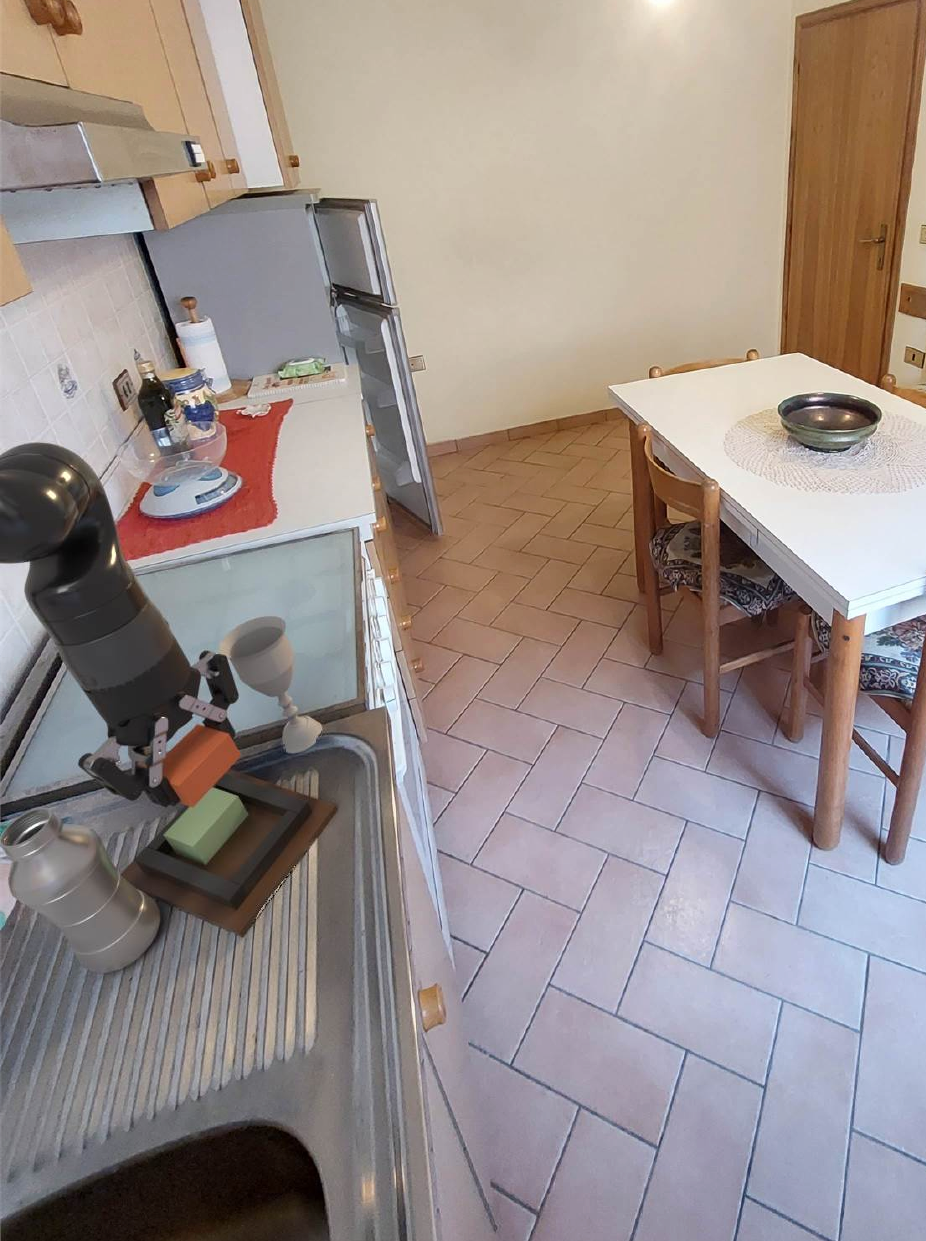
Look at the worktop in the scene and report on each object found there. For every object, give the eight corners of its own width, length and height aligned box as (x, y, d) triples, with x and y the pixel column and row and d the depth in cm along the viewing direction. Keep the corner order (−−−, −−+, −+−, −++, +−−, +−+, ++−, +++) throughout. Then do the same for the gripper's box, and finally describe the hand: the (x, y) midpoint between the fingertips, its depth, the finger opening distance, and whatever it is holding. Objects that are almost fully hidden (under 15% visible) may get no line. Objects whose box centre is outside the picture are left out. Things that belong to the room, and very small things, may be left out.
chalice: (332, 707, 92) (288, 609, 83) (329, 747, 86) (282, 646, 77) (275, 725, 90) (224, 626, 81) (269, 767, 84) (213, 666, 76)
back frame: (120, 883, 73) (107, 868, 72) (225, 771, 84) (215, 756, 83) (242, 938, 67) (231, 922, 66) (338, 809, 78) (330, 794, 77)
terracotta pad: (192, 808, 65) (177, 785, 63) (160, 796, 67) (144, 774, 65) (241, 755, 70) (229, 733, 68) (210, 745, 72) (197, 723, 70)
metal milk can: (169, 950, 67) (70, 832, 57) (89, 999, 64) (-30, 883, 54) (166, 895, 71) (75, 777, 62) (91, 938, 68) (-18, 821, 59)
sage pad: (205, 865, 73) (192, 846, 71) (176, 853, 74) (162, 835, 73) (249, 814, 78) (237, 796, 76) (220, 804, 79) (209, 785, 78)
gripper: (166, 594, 67) (230, 708, 75) (12, 708, 55) (106, 828, 64) (221, 606, 65) (281, 723, 73) (71, 729, 53) (162, 851, 61)
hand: (199, 771), depth 68 cm, fingers closed on terracotta pad, 6 cm apart
